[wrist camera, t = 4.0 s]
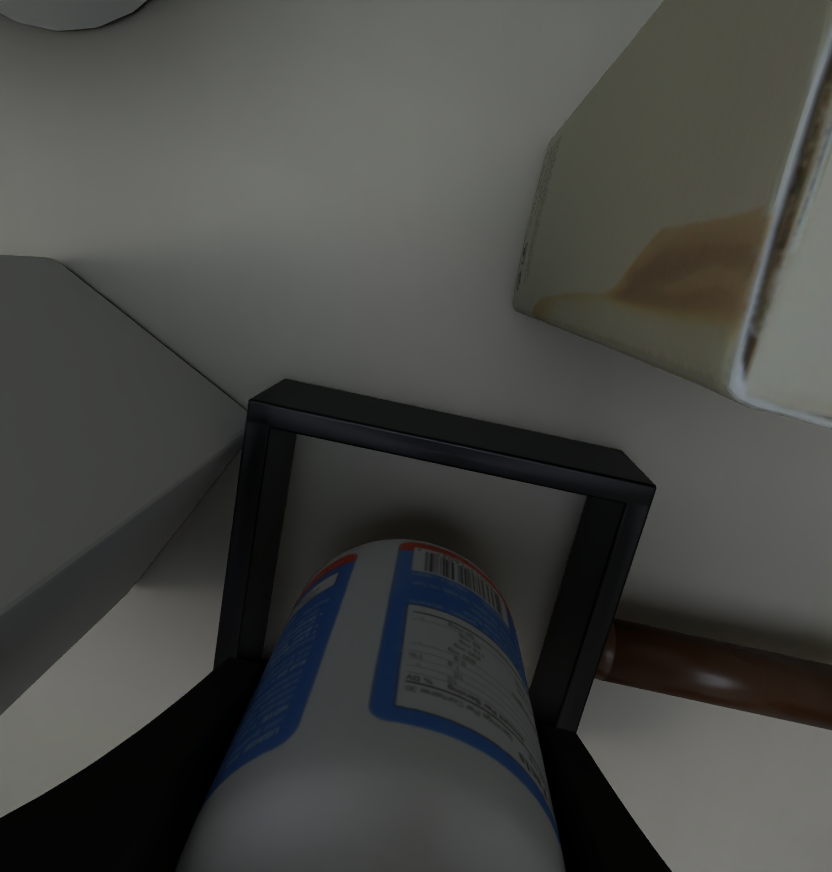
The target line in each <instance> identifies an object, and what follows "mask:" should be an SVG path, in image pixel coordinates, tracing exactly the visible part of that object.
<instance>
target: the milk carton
mask: <svg viewBox="0 0 832 872" xmlns="http://www.w3.org/2000/svg"><path fill="white" fill-rule="evenodd" d="M246 417H247V411H246V410H244V409H243V408H242V407H241V406H240V405H238V404H237V403H236V402H235V401H233V400H232V399H231V398H230V397H228V396H227V395H226V394H224V393H223V392H222V391H221V390H219V389H218V388H217V387H216V386H214V385H213V384H212V383H211V382H209V381H208V380H207V379H206V378H204V377H203V376H202V375H201V374H199V373H198V372H197V371H195V370H194V369H193V368H192V367H190V366H189V365H188V364H187V363H185V362H184V361H183V360H182V359H180V358H179V357H178V356H177V355H175V354H174V353H173V352H172V351H170V350H169V349H168V348H166V347H165V346H164V345H163V344H161V343H160V342H159V341H158V340H156V339H155V338H154V337H153V336H151V335H150V334H149V333H148V332H146V331H145V330H144V329H143V328H141V327H140V326H139V325H137V324H136V323H135V322H134V321H132V320H131V319H130V318H129V317H127V316H126V315H125V314H124V313H122V312H121V311H120V310H119V309H117V308H116V307H115V306H114V305H112V304H111V303H110V302H108V301H107V300H106V299H105V298H103V297H102V296H101V295H100V294H98V293H97V292H96V291H95V290H93V289H92V288H91V287H90V286H88V285H87V284H86V283H85V282H83V281H82V280H81V279H79V278H78V277H77V276H76V275H74V274H73V273H72V272H71V271H69V270H68V269H67V268H65V267H64V266H63V265H61V264H60V263H58V262H57V261H55V260H53V259H51V258H46V257H32V256H14V255H0V715H1V714H2V713H3V712H4V711H5V710H6V709H7V708H8V707H9V706H11V705H12V704H13V703H14V702H15V701H16V700H17V699H18V698H19V697H20V696H21V695H22V694H23V693H24V692H25V691H26V690H27V689H28V688H29V687H30V686H31V685H32V684H34V683H35V682H36V681H37V680H38V679H39V678H40V677H41V676H42V675H43V674H44V673H45V672H46V671H47V670H48V669H49V668H50V667H51V666H52V665H53V664H54V663H55V662H57V661H58V660H59V659H60V658H61V657H62V656H63V655H64V654H65V653H66V652H67V651H68V650H69V649H70V648H71V647H72V646H73V645H74V644H75V643H76V642H77V641H78V640H79V639H81V638H82V637H83V636H84V635H85V634H86V633H87V632H88V631H89V630H90V629H91V628H92V627H93V626H94V625H95V624H96V623H97V622H98V621H99V620H100V619H101V618H102V617H104V616H105V615H106V614H107V613H108V612H109V611H110V610H111V609H112V608H113V607H114V606H115V605H116V604H117V603H118V602H119V601H120V600H121V599H122V598H123V597H124V596H125V595H126V594H127V593H128V592H129V591H130V590H131V588H132V587H133V586H134V584H135V583H136V582H137V581H138V579H139V578H140V577H141V575H142V574H143V573H144V572H145V570H146V569H147V568H148V566H149V565H150V564H151V563H152V561H153V560H154V559H155V557H156V556H157V555H158V554H159V552H160V551H161V550H162V548H163V547H164V546H165V545H166V543H167V542H168V541H169V540H170V538H171V537H172V536H173V534H174V533H175V532H176V531H177V529H178V528H179V527H180V525H181V524H182V523H183V522H184V520H185V519H186V518H187V516H188V515H189V514H190V513H191V511H192V510H193V509H194V507H195V506H196V505H197V504H198V502H199V501H200V500H201V498H202V497H203V496H204V495H205V493H206V492H207V491H208V489H209V488H210V487H211V486H212V484H213V483H214V482H215V481H216V479H217V478H218V477H219V475H220V474H221V473H222V472H223V470H224V469H225V468H226V466H227V465H228V464H229V463H230V461H231V460H232V459H233V457H234V456H235V455H236V454H237V452H238V451H239V450H240V448H241V447H242V446H243V440H244V432H245V424H246Z"/></svg>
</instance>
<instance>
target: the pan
mask: <svg viewBox="0 0 832 872" xmlns="http://www.w3.org/2000/svg"><path fill="white" fill-rule="evenodd" d="M296 434H301V435H305V436H310V437H315V438H319V439H324V440H329V441H333V442H338V443H343V444H347V445H352V446H357V447H361V448H366V449H371V450H376V451H380V452H385V453H390V454H394V455H399V456H404V457H408V458H413V459H418V460H422V461H427V462H432V463H436V464H441V465H446V466H450V467H455V468H460V469H464V470H469V471H474V472H478V473H483V474H488V475H493V476H497V477H502V478H507V479H511V480H516V481H521V482H525V483H530V484H535V485H539V486H544V487H549V488H553V489H558V490H563V491H567V492H572V493H577V494H581V495H586V496H587V500H586V503H585V506H584V510H583V513H582V517H581V520H580V523H579V527H578V530H577V533H576V537H575V540H574V543H573V547H572V550H571V554H570V557H569V560H568V564H567V567H566V570H565V574H564V577H563V581H562V584H561V587H560V591H559V594H558V597H557V601H556V604H555V607H554V611H553V614H552V618H551V621H550V624H549V628H548V631H547V634H546V638H545V641H544V645H543V648H542V651H541V655H540V658H539V661H538V665H537V668H536V671H535V675H534V678H533V682H532V685H531V688H530V692H529V697H530V702H531V706H532V711H533V716H534V721H535V726H536V730H537V735H538V740H539V737H540V734H541V730H542V727H543V725H546V726H551V727H555V728H560V729H565V730H569V731H574V732H577V729H578V726H579V723H580V720H581V717H582V713H583V710H584V707H585V704H586V701H587V698H588V695H589V692H590V689H591V686H592V683H593V680H594V678H596V679H599V680H603V681H607V682H612V683H616V684H621V685H626V686H630V687H635V688H639V689H644V690H649V691H653V692H658V693H663V694H667V695H672V696H676V697H681V698H686V699H690V700H695V701H699V702H704V703H709V704H713V705H718V706H723V707H727V708H732V709H736V710H741V711H746V712H750V713H755V714H760V715H764V716H769V717H773V718H778V719H783V720H787V721H792V722H796V723H801V724H806V725H810V726H815V727H820V728H824V729H829V730H832V665H830V664H825V663H820V662H816V661H811V660H806V659H802V658H797V657H793V656H788V655H783V654H779V653H774V652H769V651H765V650H760V649H755V648H751V647H746V646H742V645H737V644H732V643H728V642H723V641H718V640H714V639H709V638H704V637H700V636H695V635H691V634H686V633H681V632H677V631H672V630H667V629H663V628H658V627H653V626H649V625H644V624H639V623H635V622H630V621H626V620H621V619H616V618H614V616H615V613H616V610H617V607H618V604H619V601H620V598H621V595H622V591H623V588H624V585H625V582H626V579H627V576H628V573H629V570H630V567H631V564H632V561H633V558H634V555H635V552H636V549H637V546H638V543H639V540H640V537H641V534H642V531H643V527H644V524H645V521H646V518H647V515H648V512H649V509H650V506H651V503H652V500H653V497H654V494H655V491H656V485H655V484H654V483H653V482H652V481H651V480H650V479H649V478H648V477H647V476H646V475H645V474H644V473H643V472H642V471H641V470H640V469H639V468H638V467H637V466H636V465H635V464H634V463H633V462H632V461H631V460H630V458H629V457H628V456H627V455H626V454H625V453H624V452H623V451H621V450H617V449H612V448H608V447H603V446H598V445H594V444H589V443H584V442H579V441H575V440H570V439H565V438H561V437H556V436H551V435H547V434H542V433H537V432H532V431H528V430H523V429H518V428H514V427H509V426H504V425H500V424H495V423H490V422H485V421H481V420H476V419H471V418H467V417H462V416H457V415H453V414H448V413H443V412H438V411H434V410H429V409H424V408H420V407H415V406H410V405H406V404H401V403H396V402H391V401H387V400H382V399H377V398H373V397H368V396H363V395H359V394H354V393H349V392H344V391H340V390H335V389H330V388H326V387H321V386H316V385H312V384H307V383H302V382H298V381H293V380H288V379H284V380H282V381H280V382H278V383H277V384H275V385H273V386H271V387H270V388H268V389H266V390H265V391H263V392H261V393H259V394H258V395H256V396H254V397H252V398H251V399H249V402H248V409H247V417H246V424H245V432H244V440H243V447H242V455H241V462H240V470H239V477H238V485H237V493H236V500H235V508H234V515H233V523H232V530H231V538H230V546H229V553H228V561H227V568H226V576H225V583H224V591H223V599H222V606H221V614H220V621H219V629H218V636H217V644H216V652H215V659H214V667H213V670H214V669H215V668H216V667H218V666H219V665H220V664H221V663H222V662H223V661H225V660H226V659H228V658H230V657H231V658H236V659H240V660H245V661H250V662H254V663H259V664H261V670H260V676H259V680H260V678H261V676H262V674H263V672H264V670H265V668H266V665H267V663H268V661H269V660H265V659H262V652H263V646H264V640H265V633H266V627H267V620H268V614H269V608H270V601H271V595H272V588H273V582H274V575H275V569H276V563H277V556H278V550H279V543H280V537H281V531H282V524H283V518H284V511H285V505H286V499H287V492H288V486H289V479H290V473H291V466H292V460H293V454H294V447H295V441H296Z"/></svg>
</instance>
